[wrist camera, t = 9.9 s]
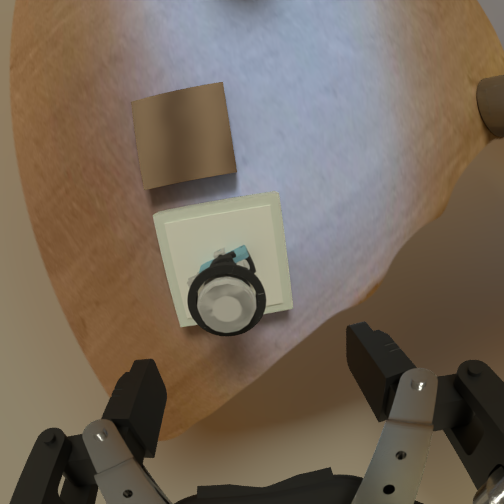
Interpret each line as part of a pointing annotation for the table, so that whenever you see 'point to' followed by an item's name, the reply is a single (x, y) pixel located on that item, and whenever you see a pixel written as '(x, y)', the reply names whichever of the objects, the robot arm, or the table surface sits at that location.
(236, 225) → the cream tray
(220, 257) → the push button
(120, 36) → the table surface
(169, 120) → the walnut stand
